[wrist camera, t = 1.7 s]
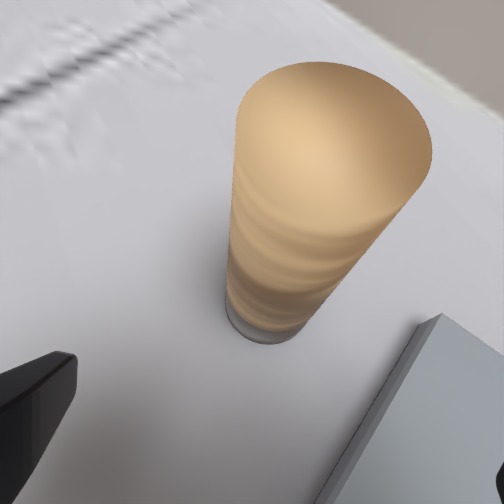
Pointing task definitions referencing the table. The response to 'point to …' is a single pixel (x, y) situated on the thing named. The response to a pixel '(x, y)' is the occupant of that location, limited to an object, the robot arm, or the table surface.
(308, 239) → the ribbed peg
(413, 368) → the keyhole plate
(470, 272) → the table surface
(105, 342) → the table surface
